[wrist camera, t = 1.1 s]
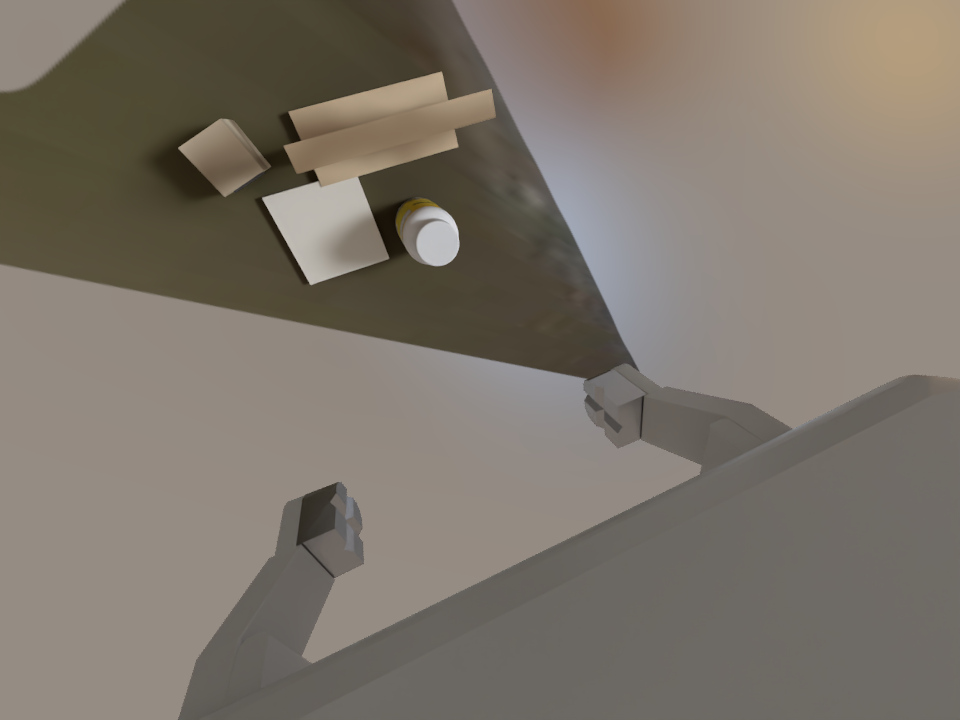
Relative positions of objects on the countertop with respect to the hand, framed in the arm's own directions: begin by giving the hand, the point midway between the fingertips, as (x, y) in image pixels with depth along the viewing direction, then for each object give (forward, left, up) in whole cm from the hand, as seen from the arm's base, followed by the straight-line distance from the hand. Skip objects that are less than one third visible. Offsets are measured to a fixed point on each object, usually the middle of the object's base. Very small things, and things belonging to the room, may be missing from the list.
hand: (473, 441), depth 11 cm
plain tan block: (-9, -10, -34) cm, 36 cm away
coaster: (-1, -5, -33) cm, 34 cm away
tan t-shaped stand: (-8, +3, -33) cm, 34 cm away
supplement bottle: (+1, +4, -34) cm, 34 cm away
